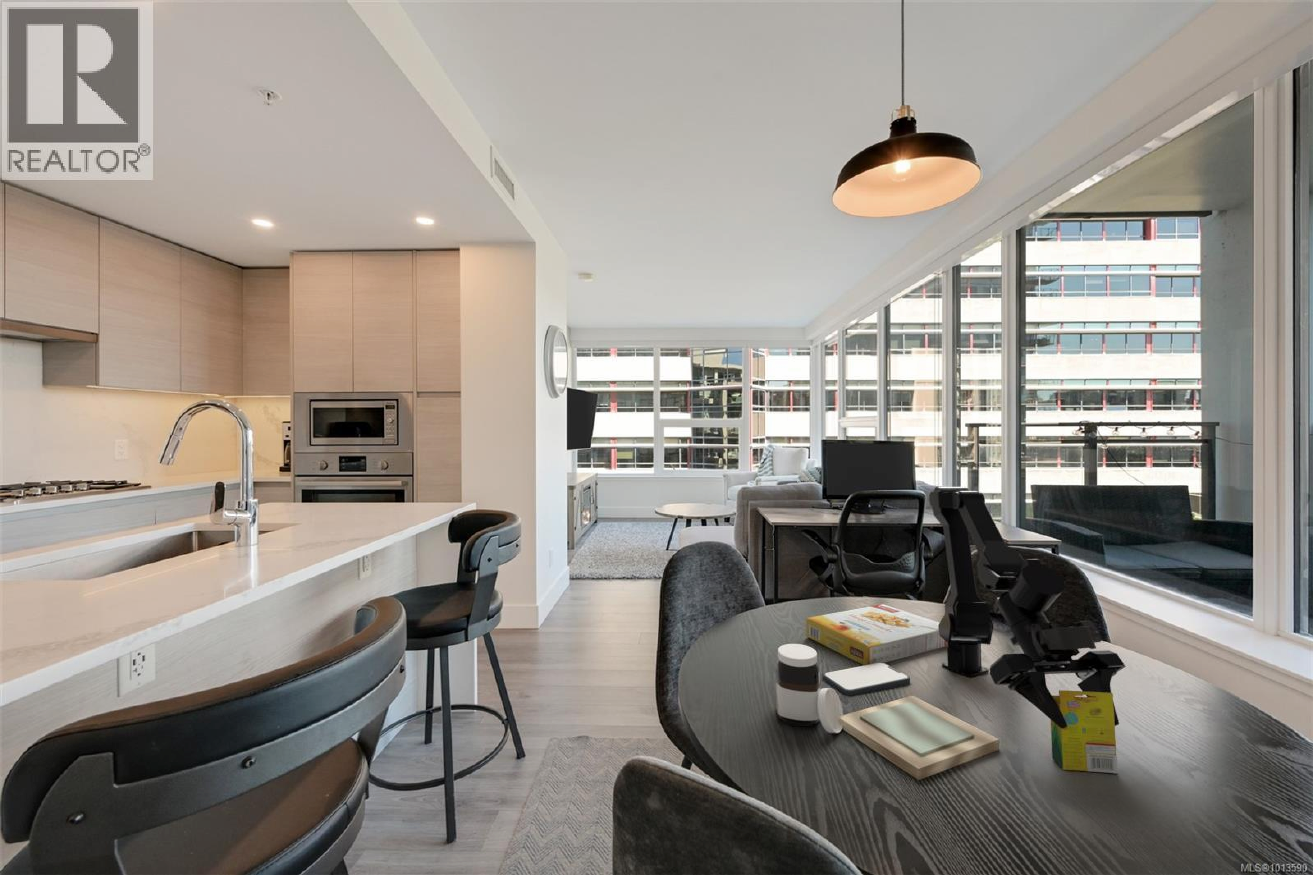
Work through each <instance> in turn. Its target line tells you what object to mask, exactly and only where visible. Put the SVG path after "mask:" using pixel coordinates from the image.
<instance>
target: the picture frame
mask: <svg viewBox="0 0 1313 875" xmlns="http://www.w3.org/2000/svg"><path fill="white" fill-rule="evenodd" d="M839 722H840V724H841V725H842V726H843V727H842V730H843V731H845V732H846V733H848V734H849V735H851V736H852V737H854V738H855V739H857V740H858V741H859V742H861V743H862V744H864V745H865V746H867V747H868V748H869V749H871V750H872V751H875V752H876V753H877V754H879V755H881V757H884V758H885V759H886V760H888V761H889V762H891V763H892V764H894V765H895V766H897V767H898V768H899V769H901V770H902V771H904V772H906V773H908V774H909V775H910V776H911V777H913V778H915V779H916V780H918V781H920V780H924V779H925V778H928V777H931V776H933V775H937V774H939V773H941V772H944V771H947V770H949V769H951V768H955V767H957V766H959V765H960V766H961V765H963V764H964V763H967V762H970V761H973V760H975V759H979V758H981V757H983V755H984V756H986V755H988V754H991V753H993V752H997V751H1000V739H999V738H997V737H995V736H993V735H992V734H990V733H988V732H985V731H983V730H981V729H979V728H977V727H976V726H974V725H971V724H969V723H967V722H965V721H964V720H961V719H960V718H958V717H955V716H954V715H952V714H950V713H948V712H946V711H944V710H942V709H940V708H938V707H936V706H934V705H932V704H931V703H928V702H926V701H924V700H922V699H921V698H918V697H916V696H914V695H909V696H906V697H903V698H899V699H896V700H892V701H888V702H885V703H882V704H881V703H880V704H877V705H874V706H871V707H867V708H864V709H861V710H857V711H853V712H850V713H846V714H843V715H842V716H839V717H838V723H839Z"/></svg>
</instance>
